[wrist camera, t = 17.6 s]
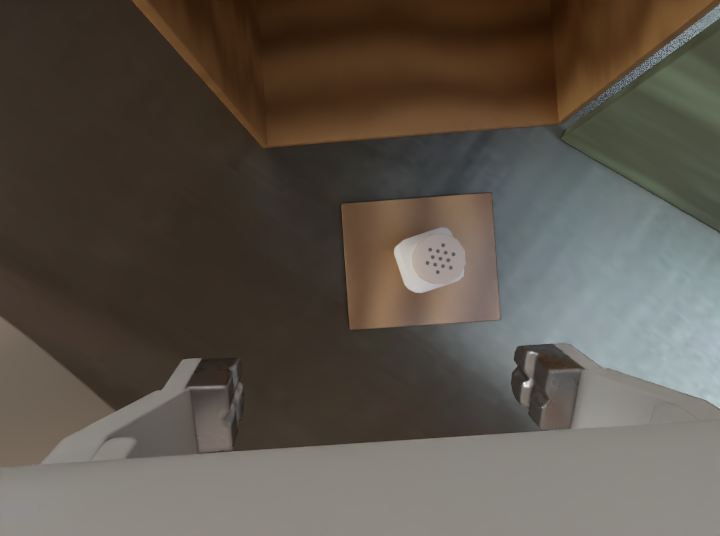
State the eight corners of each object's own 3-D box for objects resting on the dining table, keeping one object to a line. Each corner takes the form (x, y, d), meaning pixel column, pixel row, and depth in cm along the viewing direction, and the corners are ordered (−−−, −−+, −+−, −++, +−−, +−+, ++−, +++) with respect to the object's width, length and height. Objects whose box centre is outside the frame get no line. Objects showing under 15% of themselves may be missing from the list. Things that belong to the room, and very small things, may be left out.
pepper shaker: (435, 232, 33) (461, 217, 24) (450, 276, 33) (482, 279, 24) (391, 247, 33) (399, 238, 24) (406, 291, 33) (419, 299, 24)
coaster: (350, 329, 34) (349, 330, 33) (341, 204, 34) (341, 203, 34) (499, 319, 34) (501, 320, 33) (490, 193, 34) (491, 192, 33)
